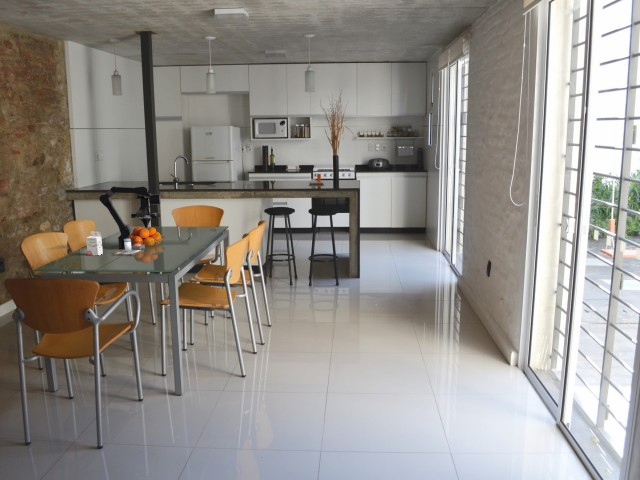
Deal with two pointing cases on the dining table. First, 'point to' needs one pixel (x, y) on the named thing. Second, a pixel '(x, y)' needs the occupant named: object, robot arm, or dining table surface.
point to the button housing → (138, 247)
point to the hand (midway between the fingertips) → (146, 228)
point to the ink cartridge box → (94, 244)
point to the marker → (127, 245)
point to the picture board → (128, 253)
